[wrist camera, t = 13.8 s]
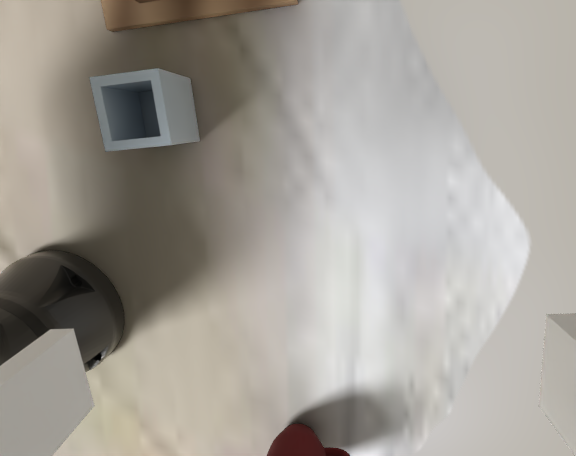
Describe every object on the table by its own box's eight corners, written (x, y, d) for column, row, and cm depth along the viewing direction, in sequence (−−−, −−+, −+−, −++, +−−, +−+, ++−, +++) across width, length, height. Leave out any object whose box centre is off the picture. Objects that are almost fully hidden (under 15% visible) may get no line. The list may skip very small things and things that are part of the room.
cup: (144, 146, 39) (105, 151, 32) (132, 85, 38) (89, 77, 31) (200, 141, 38) (171, 145, 32) (190, 78, 37) (158, 68, 30)
